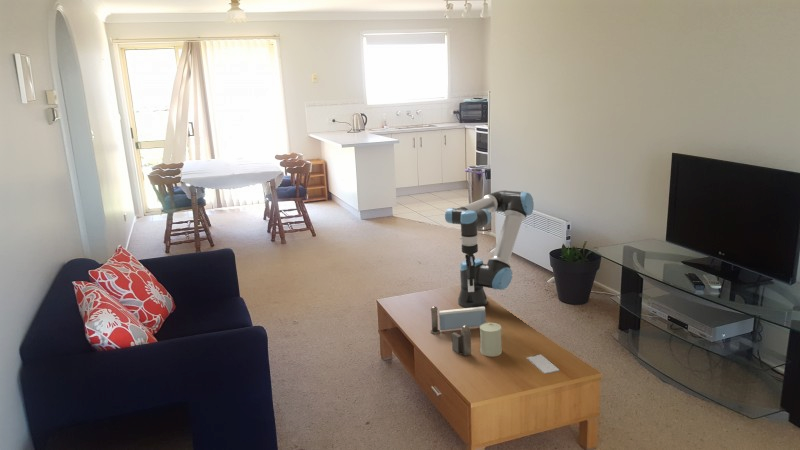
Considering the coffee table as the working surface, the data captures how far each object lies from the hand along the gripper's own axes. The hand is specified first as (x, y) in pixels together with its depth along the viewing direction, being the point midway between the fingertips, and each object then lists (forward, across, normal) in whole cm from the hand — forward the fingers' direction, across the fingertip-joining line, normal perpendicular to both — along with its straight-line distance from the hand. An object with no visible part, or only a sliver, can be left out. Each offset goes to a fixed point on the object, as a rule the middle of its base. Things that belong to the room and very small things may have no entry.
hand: (471, 291), depth 276 cm
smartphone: (+17, +46, +22) cm, 53 cm away
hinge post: (+16, +8, -19) cm, 26 cm away
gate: (+15, +7, -5) cm, 17 cm away
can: (+16, +32, +3) cm, 36 cm away
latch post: (+16, +30, -9) cm, 35 cm away
